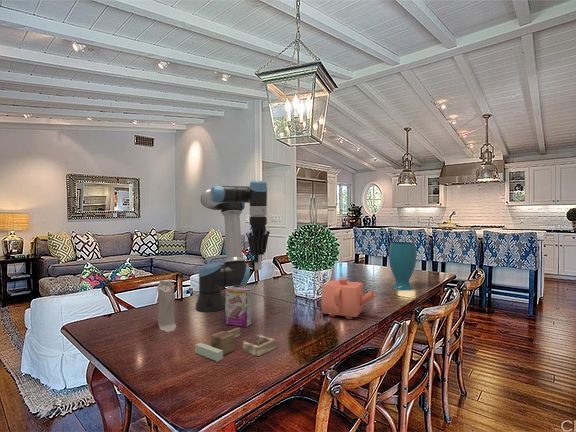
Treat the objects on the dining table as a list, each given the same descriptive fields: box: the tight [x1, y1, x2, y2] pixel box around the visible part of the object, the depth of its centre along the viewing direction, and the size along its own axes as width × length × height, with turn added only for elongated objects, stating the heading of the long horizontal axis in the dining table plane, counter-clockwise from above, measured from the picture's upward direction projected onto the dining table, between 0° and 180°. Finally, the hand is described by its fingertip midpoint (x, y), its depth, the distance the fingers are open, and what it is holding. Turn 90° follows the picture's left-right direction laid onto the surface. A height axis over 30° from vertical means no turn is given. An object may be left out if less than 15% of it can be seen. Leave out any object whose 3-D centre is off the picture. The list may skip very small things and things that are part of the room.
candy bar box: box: [224, 286, 252, 328], centre depth 157 cm, size 11×5×16 cm, turn 71°
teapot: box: [320, 277, 377, 320], centre depth 171 cm, size 25×23×18 cm
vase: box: [388, 241, 418, 291], centre depth 230 cm, size 17×17×30 cm
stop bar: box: [194, 342, 224, 362], centre depth 123 cm, size 12×2×3 cm, turn 53°
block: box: [210, 330, 236, 356], centre depth 128 cm, size 6×6×6 cm
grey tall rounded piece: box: [157, 280, 177, 333], centre depth 154 cm, size 7×14×20 cm, turn 27°
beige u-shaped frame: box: [226, 327, 277, 357], centre depth 134 cm, size 22×11×3 cm, turn 53°
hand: (258, 269), depth 153 cm, fingers closed
